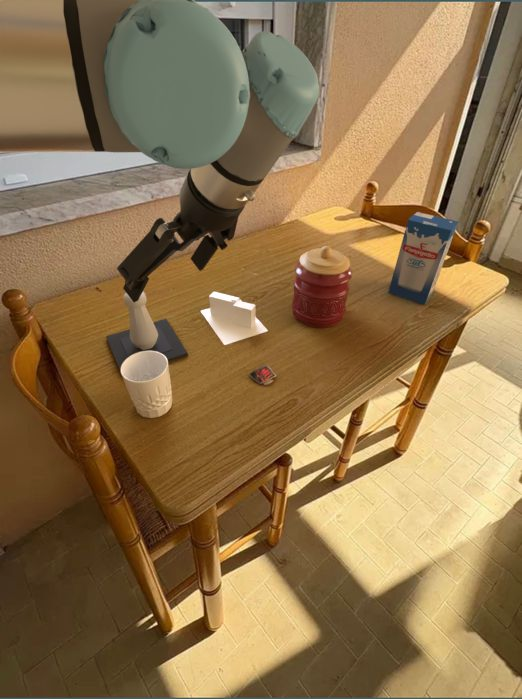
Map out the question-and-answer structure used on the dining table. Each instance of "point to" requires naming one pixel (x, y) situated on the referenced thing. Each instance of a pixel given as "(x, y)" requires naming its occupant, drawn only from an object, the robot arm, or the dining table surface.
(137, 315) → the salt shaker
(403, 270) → the milk carton
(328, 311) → the kitchen canister
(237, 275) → the dining table surface
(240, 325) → the napkin holder
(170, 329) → the rubber pad
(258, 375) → the matchbox
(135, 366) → the white cup
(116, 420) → the dining table surface
